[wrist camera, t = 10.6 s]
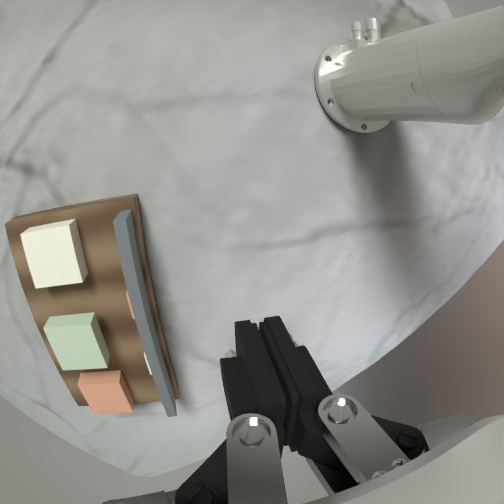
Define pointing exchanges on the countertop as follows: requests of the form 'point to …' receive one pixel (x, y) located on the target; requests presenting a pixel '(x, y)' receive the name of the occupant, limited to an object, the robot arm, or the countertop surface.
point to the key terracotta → (106, 392)
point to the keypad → (106, 295)
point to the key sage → (77, 341)
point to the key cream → (54, 254)
